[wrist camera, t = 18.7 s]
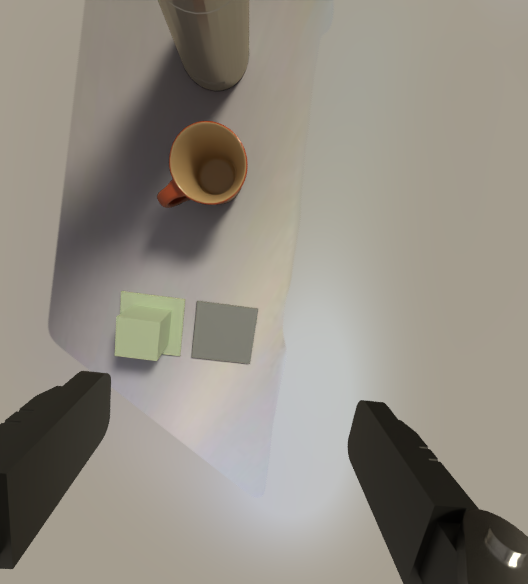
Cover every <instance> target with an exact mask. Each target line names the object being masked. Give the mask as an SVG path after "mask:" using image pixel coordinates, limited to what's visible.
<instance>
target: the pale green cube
mask: <svg viewBox="0 0 528 584" xmlns="http://www.w3.org/2000/svg"><path fill="white" fill-rule="evenodd" d="M171 314H172V310H167V309H160V308H153V307H145V306H138V305H133V306H132V307H130V308H129V309H127V310H126V311H124V312H123V313H121V314H120V315H118V316H117V319H116V338H115V356H120V357H128V358H136V359H145V360H153V361H157V360H158V359H159V357H160V356H161V354H162V353H163V351H164V350H165V349H166V347H167V346H168V344H169V335H170V324H171Z"/></svg>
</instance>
